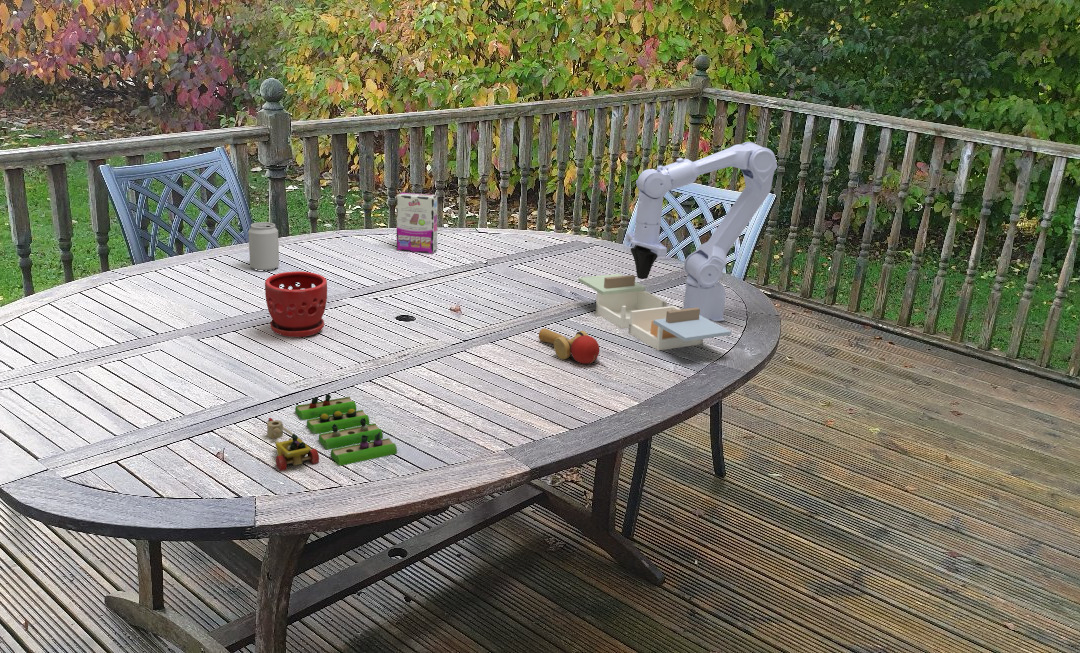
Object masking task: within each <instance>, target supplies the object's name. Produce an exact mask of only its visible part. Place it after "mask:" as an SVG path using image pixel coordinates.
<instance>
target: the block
mask: <svg viewBox="0 0 1080 653" xmlns="http://www.w3.org/2000/svg"><path fill="white" fill-rule="evenodd" d="M658 327H659V326H657V325H655V324H653V320H652V321H651V332H650V334H652V335H654V336H655V337H657V332H658ZM672 337H676V336H675V335H673V334H671V333H669V332H668V331H666V330H664V329H663V334H662V339H664V338H672Z"/></svg>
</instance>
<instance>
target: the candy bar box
mask: <svg viewBox="0 0 1080 653" xmlns="http://www.w3.org/2000/svg"><path fill="white" fill-rule="evenodd" d="M395 197H396V198H395V199H396V202H395V204H396V211H395V212H396V215H395V216H396V251H398V250H400V252H409V251H410V252H411V253H421V254H422V253H423V254H434V253H436V252H437V250H438V201H439V200H438V198H439V197H438V195H437V194H428V193H427V194H426V193H411V192H400V193H399V194H397V195H396V196H395ZM410 252H409V253H410Z"/></svg>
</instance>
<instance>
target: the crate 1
mask: <svg viewBox="0 0 1080 653" xmlns="http://www.w3.org/2000/svg"><path fill="white" fill-rule="evenodd" d="M595 303H596V304H595V315H594V316H595V317H602V318H604V320H607V321H609V322H610V323H611V324H613V325H615V326H617V327H618V328H620V329H629V322H630V311H635V310H643V309H651V308H660V307H668V306H667V304H668V301H666V300H664V299H662V298H661V297H658V296H656V295H654V294H652V293H650V292H648V291H647V290H646V289H645V290H643V291H634V292H625V293H616V294H607V295H602V294H600V293H599V292H597V291H596V302H595Z"/></svg>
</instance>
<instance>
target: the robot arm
mask: <svg viewBox="0 0 1080 653" xmlns="http://www.w3.org/2000/svg"><path fill="white" fill-rule="evenodd" d="M729 167H732V168H737V169H740V171H741V173H742V174H743V177H744V184H745V188H744V189H743V190H742V192H741V193H740V195H739V196H738V198H737V199H736V201H735V202H734V203H733V205H732V206H731V208H730V209H729V210H728V212H727V213H726V215H725V216H724V218H723V219H722V220H721V222H720V223H719V224H718V226H717V228H716V229H715V230H714V232H713V233H712V234H711V236H710V238H709V239H708V240H707V241H706V242H704V243H702V244H701V245H699V246H698V247H697V248H696V250H695V251H693V252H692V253H690V254H689V255H687V256H686V259H685V260H684V264H683V265H684V266H683V267H684V270H685V272H686V274H687V278H686V281H685V282H686V283H685V290H684V300H683V308H682V309H688V308H696V307H697V308H699V309H700V314H699V315H701V316H702V317H704V318H706V319H708V320H710V321H712V322H714V323H716V322H717V323H718V322H723V321H725V320H726V319H725V318H724V313H725V312H724V310H725V304H726V288H725V287H724V285H723V284H722V283H721V282H720V280H721V278H722V274H723V271H724V269H725V267H726V265H727V254H728V253H729V251H730V250H731V248H732V247H733V245H734V244H736V241H737V240H738V239H739V237H740V236H741V234H742V233H743V231H744V230H745V229H746V228H747V226H748V224H749V223H750V221H751V220H752V219H753V217H754V216H755V214H756V213H757V211H758V210H759V209H760V207H761V206H762V205H763V203H764V202H765V201H766V199H767V198H768V196H769V194H770V193H771V190H772V186H773V179H774V174H775V171H776V169H777V168H778V164H777V158H776V156H775V152H773V150H771V149H770V148H768V147H764V146H761V145H758V144H756V143H755V142H753V141H746V142H743V143H741V144H740V143H739V144H734V145H732V146H730V147H727V148H725V149H723V150H720V151H718V152H715V153H713V154H710V155H708V156H705V157H703V158H700V159H698V160H695V161H692V160H691V159H688V158H682V157H679V158H676V161H675V162H672V163H668V164H667V165H661V164H660V165H657V167H656V170H655V169H653V168H648V169H645V170H643V171H642V172H641V173H640V174H639V176H638V178H637V179H636V181H635V185H636V187H637V189H638V190H639V193H638V201H637V208H636V218H635V226H634V228H635V229H634V232H629V233H628V232H626V234H625V242H627V243H628V242H629V243H630V244H631V245H633V246H634V247H631V248H630V252H631V254H632V258H633V260H634V264H635V270H636V271H635V272H636V277H637V279H639V280H647V279H648V277H649V276H650V273H651V270H652V267H653V265H654V263H655V261H656V260H657V258H658V257H659V258H660V257H666V256H667V252H668V247H666V246H665V245H664V244H662V243H661V241H660V231H661V223H662V214H663V213H662V212H663V205H664V204H663V201H664V196H665V195H667V193H668V192H669V191H672V190H676V189H678V188H682V187H684V186H688V185H691V184H693V183H695V182H696V180H697V178H698V177H699V176H700V175H704V174H708V173H711V172H715V171H719V170H721V169H725V168H729Z"/></svg>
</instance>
